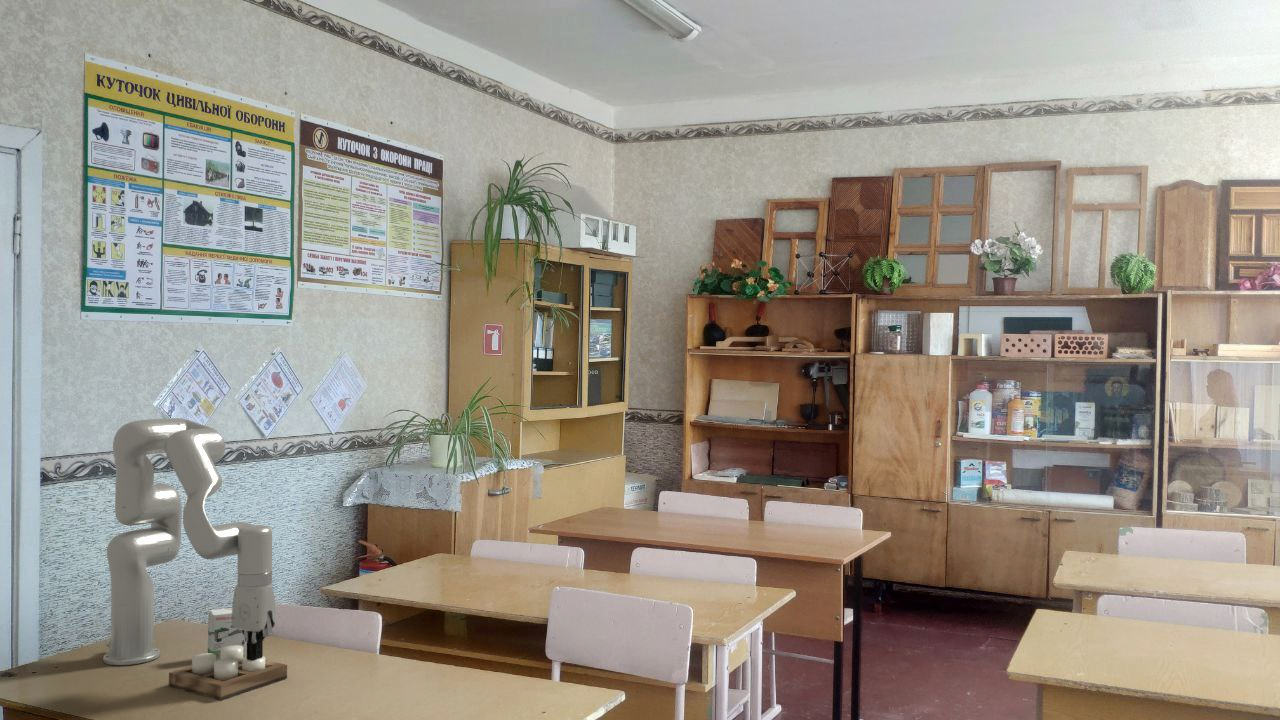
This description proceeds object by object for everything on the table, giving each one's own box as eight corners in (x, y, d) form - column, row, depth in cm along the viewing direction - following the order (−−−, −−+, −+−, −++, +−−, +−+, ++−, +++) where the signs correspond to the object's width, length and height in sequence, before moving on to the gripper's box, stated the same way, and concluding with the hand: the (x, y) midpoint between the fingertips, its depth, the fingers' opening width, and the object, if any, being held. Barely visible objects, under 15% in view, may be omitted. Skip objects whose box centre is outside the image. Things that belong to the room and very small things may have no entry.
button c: (209, 678, 228) (209, 662, 228) (227, 672, 233) (228, 657, 233) (223, 681, 226) (224, 666, 226) (242, 675, 230) (242, 660, 230)
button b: (215, 664, 239) (215, 649, 239) (233, 658, 243) (233, 644, 243) (229, 667, 236) (230, 652, 236) (247, 662, 241) (247, 647, 241)
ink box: (211, 662, 250) (211, 614, 250) (207, 657, 254) (207, 610, 254) (247, 657, 254) (248, 610, 254) (243, 652, 259) (243, 606, 259)
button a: (187, 672, 232) (187, 657, 232) (206, 667, 236) (206, 652, 236) (201, 676, 230) (201, 660, 230) (220, 670, 234) (220, 655, 234)
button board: (168, 686, 231) (168, 672, 231) (235, 666, 247) (235, 653, 247) (221, 700, 222) (221, 685, 222) (287, 678, 238) (287, 664, 238)
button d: (237, 674, 235) (237, 659, 235) (255, 669, 239) (255, 654, 239) (252, 678, 232) (252, 663, 232) (269, 672, 237) (270, 657, 237)
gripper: (219, 579, 236) (219, 658, 236) (263, 586, 229) (263, 667, 229) (246, 573, 243) (246, 650, 243) (290, 580, 235) (289, 659, 235)
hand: (254, 658), depth 236 cm, fingers closed
